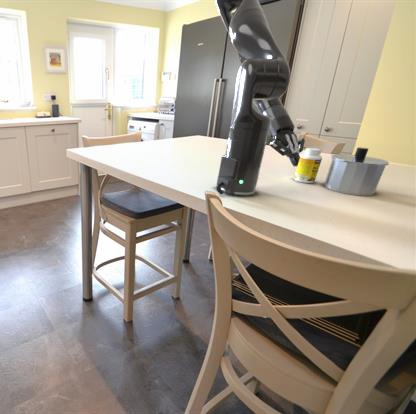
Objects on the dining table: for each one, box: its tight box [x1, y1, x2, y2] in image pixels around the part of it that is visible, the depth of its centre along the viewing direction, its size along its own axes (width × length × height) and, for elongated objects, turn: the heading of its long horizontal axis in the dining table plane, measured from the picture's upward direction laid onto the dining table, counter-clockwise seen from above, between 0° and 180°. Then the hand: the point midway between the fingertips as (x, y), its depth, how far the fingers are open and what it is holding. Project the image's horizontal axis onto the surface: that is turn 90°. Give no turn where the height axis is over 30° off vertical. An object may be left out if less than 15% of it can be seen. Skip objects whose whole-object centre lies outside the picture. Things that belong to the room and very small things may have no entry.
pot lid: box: [331, 146, 390, 167], centre depth 79 cm, size 12×12×4 cm
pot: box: [324, 158, 386, 197], centre depth 82 cm, size 11×11×8 cm
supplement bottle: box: [294, 147, 323, 184], centre depth 88 cm, size 6×6×10 cm
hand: (298, 165), depth 91 cm, fingers closed
